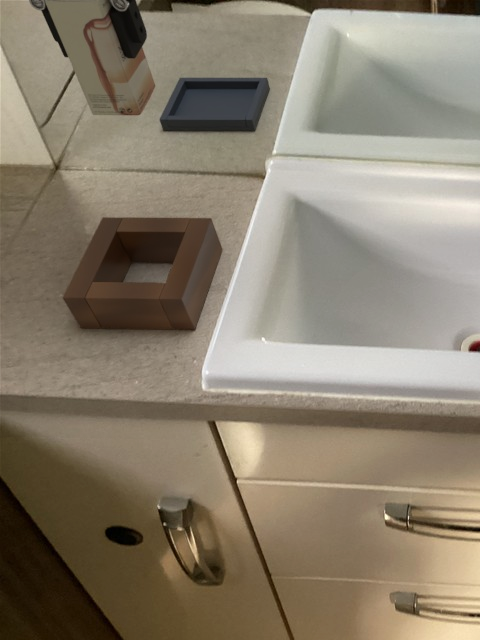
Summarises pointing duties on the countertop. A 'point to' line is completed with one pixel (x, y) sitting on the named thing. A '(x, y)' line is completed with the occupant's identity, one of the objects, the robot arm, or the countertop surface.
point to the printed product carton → (101, 58)
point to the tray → (215, 104)
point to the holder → (140, 297)
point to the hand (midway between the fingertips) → (105, 47)
